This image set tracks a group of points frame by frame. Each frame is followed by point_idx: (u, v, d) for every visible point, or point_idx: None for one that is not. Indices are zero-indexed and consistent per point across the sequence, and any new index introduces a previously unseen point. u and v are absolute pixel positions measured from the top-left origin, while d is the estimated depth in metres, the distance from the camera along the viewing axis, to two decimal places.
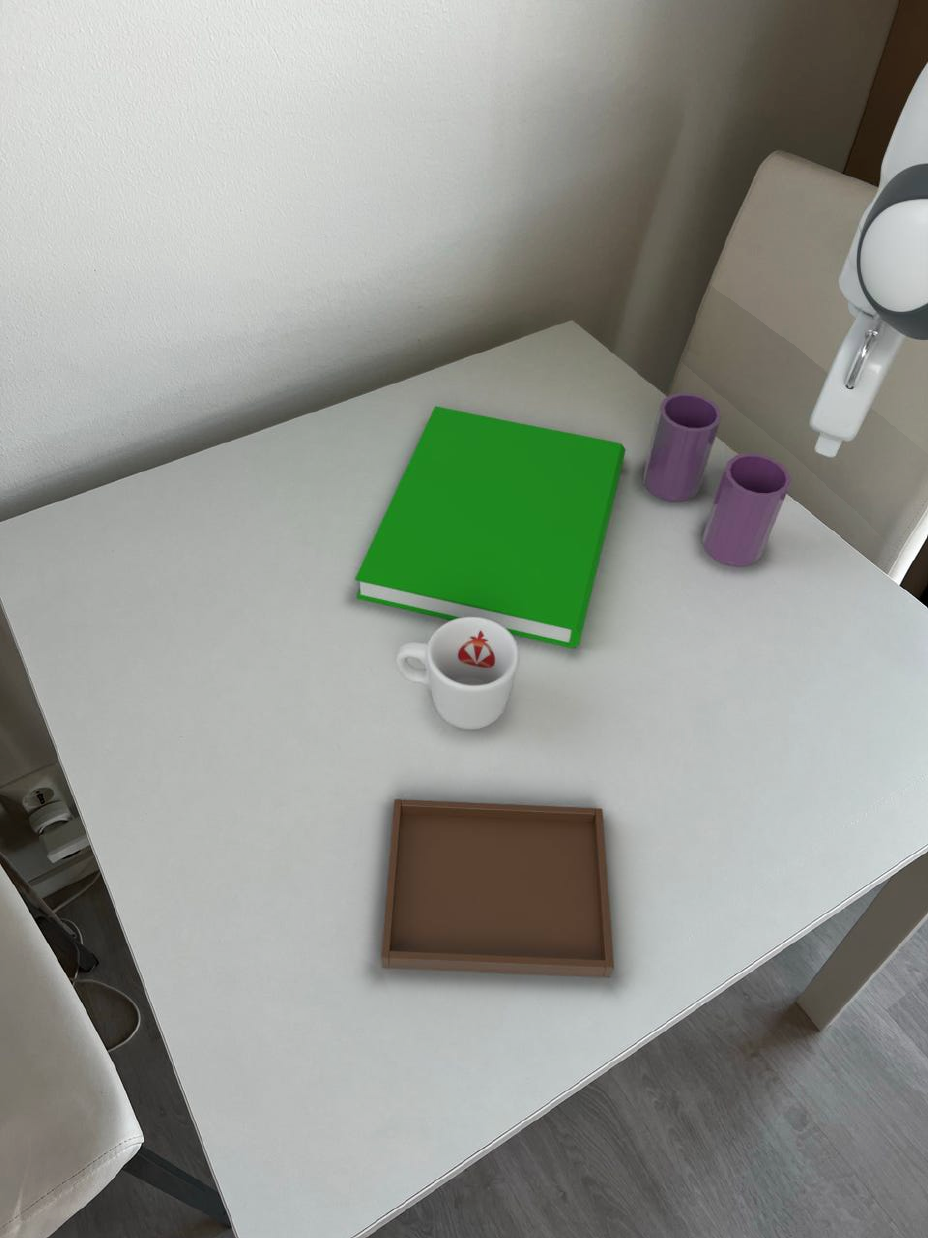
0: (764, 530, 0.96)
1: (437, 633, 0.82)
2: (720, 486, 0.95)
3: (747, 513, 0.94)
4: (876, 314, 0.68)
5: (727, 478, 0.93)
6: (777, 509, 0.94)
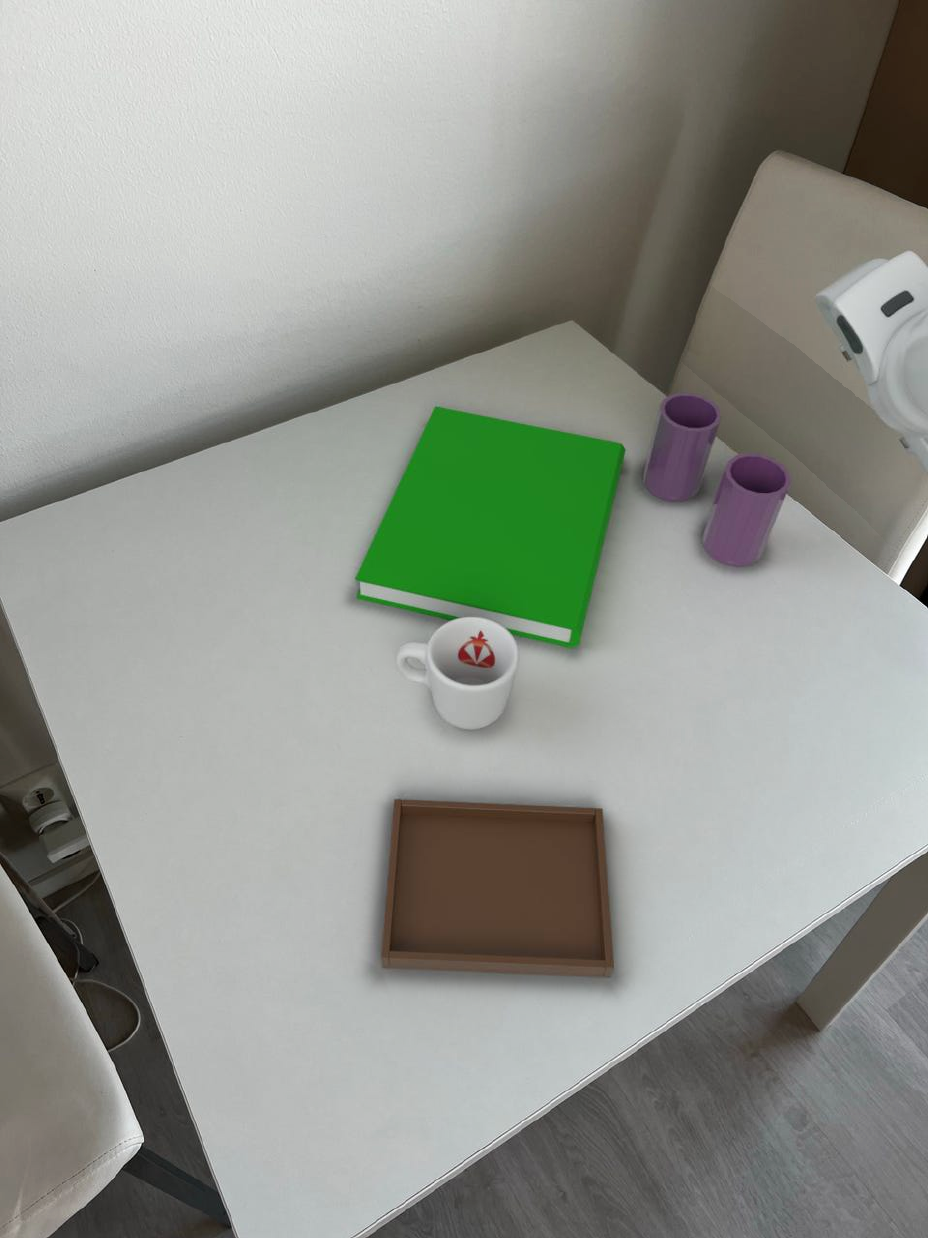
0: (764, 530, 0.96)
1: (437, 633, 0.82)
2: (720, 486, 0.95)
3: (747, 513, 0.94)
4: None
5: (727, 478, 0.93)
6: (777, 509, 0.94)
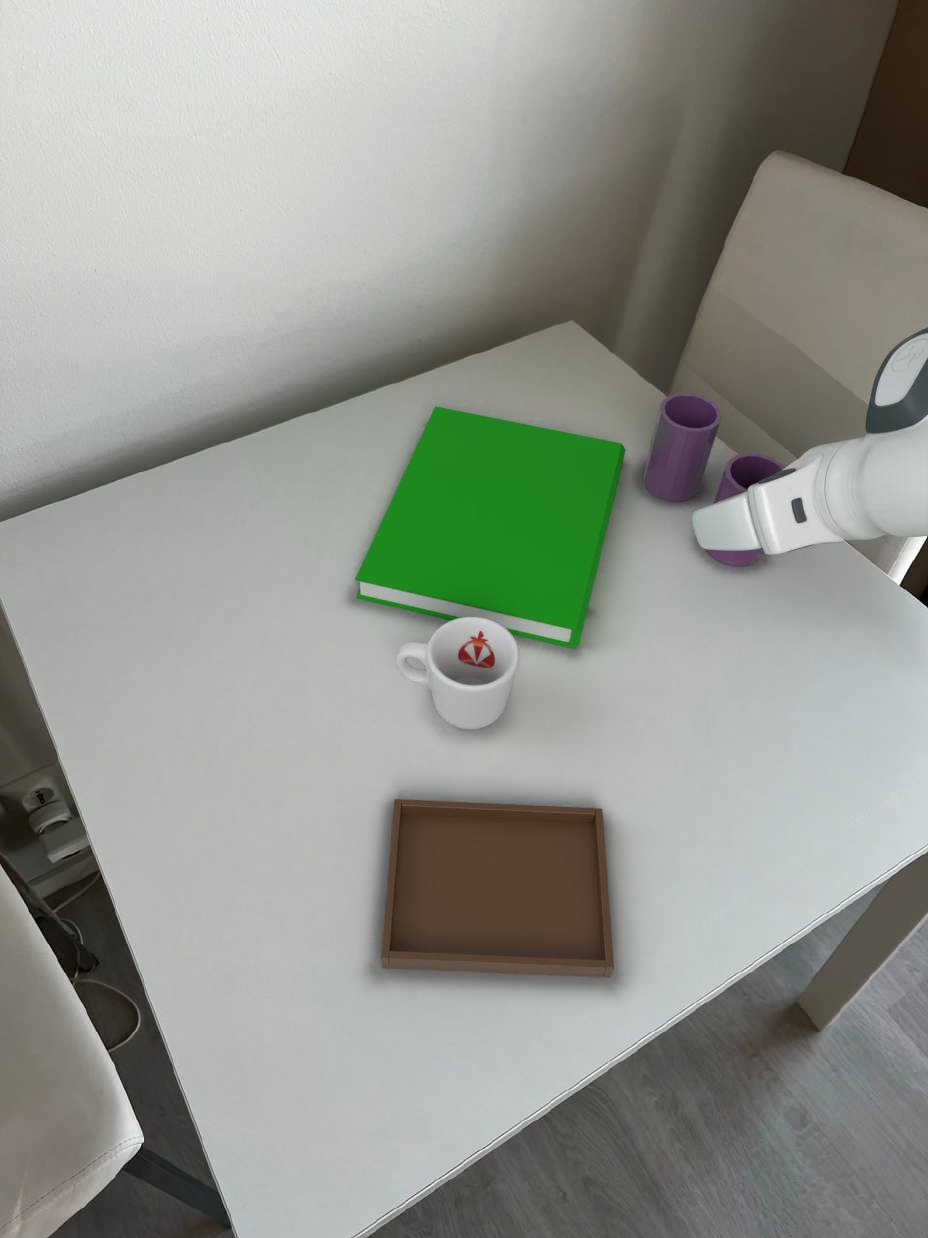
0: None
1: (437, 633, 0.82)
2: (720, 486, 0.95)
3: None
4: None
5: (727, 478, 0.93)
6: None
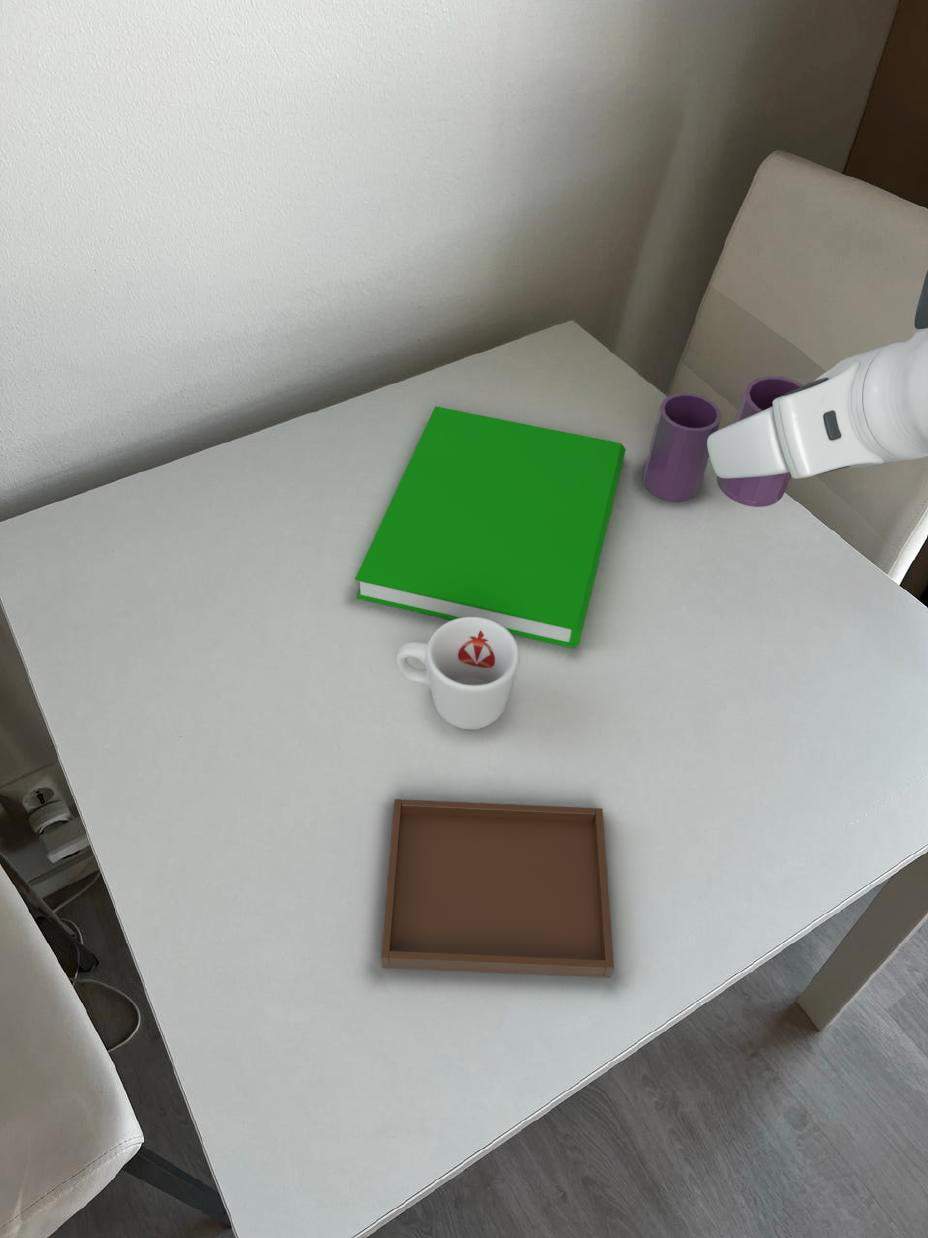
0: None
1: (437, 633, 0.82)
2: (738, 413, 0.84)
3: None
4: None
5: (746, 401, 0.82)
6: None
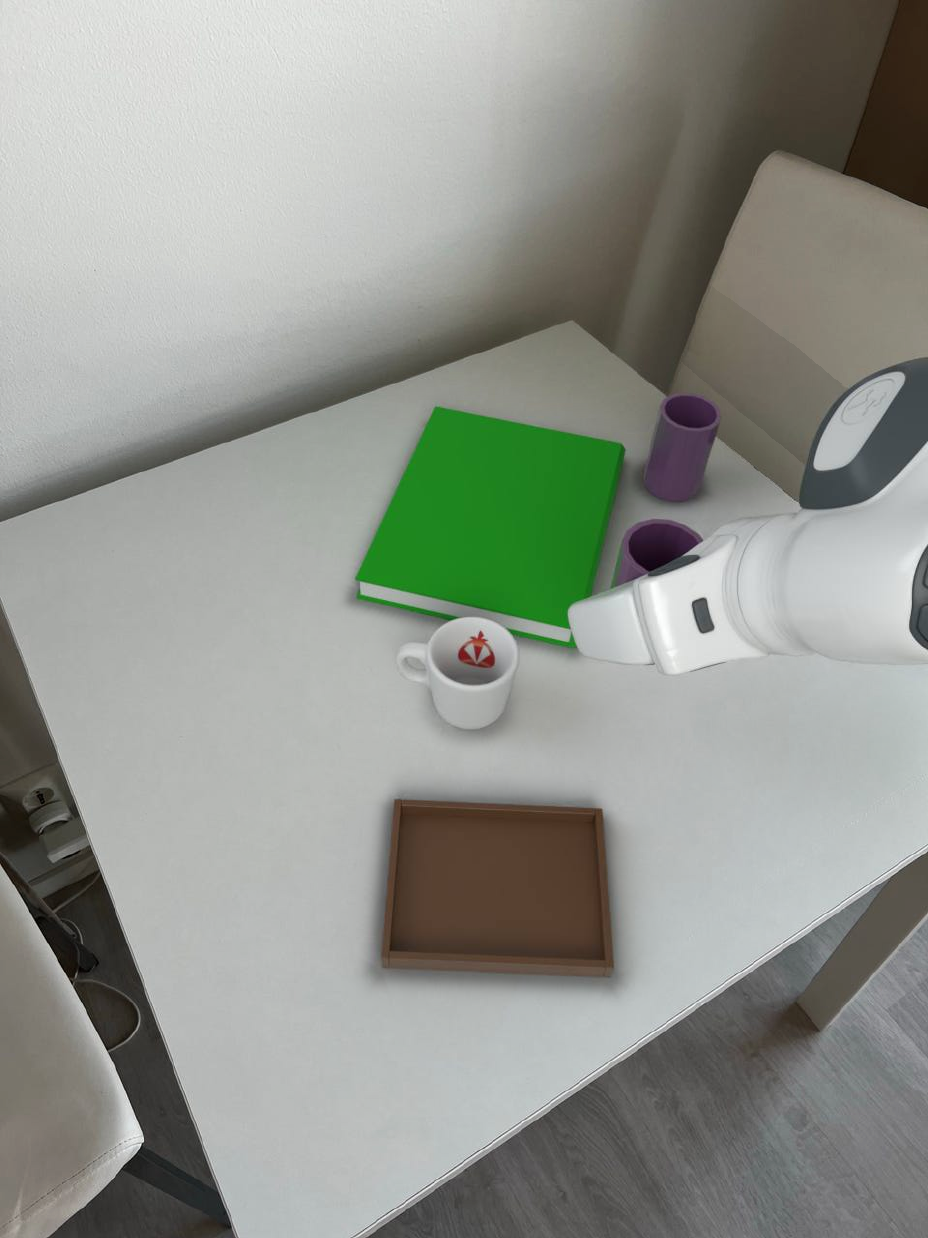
0: None
1: (437, 633, 0.82)
2: (617, 563, 0.72)
3: None
4: None
5: (623, 554, 0.70)
6: None
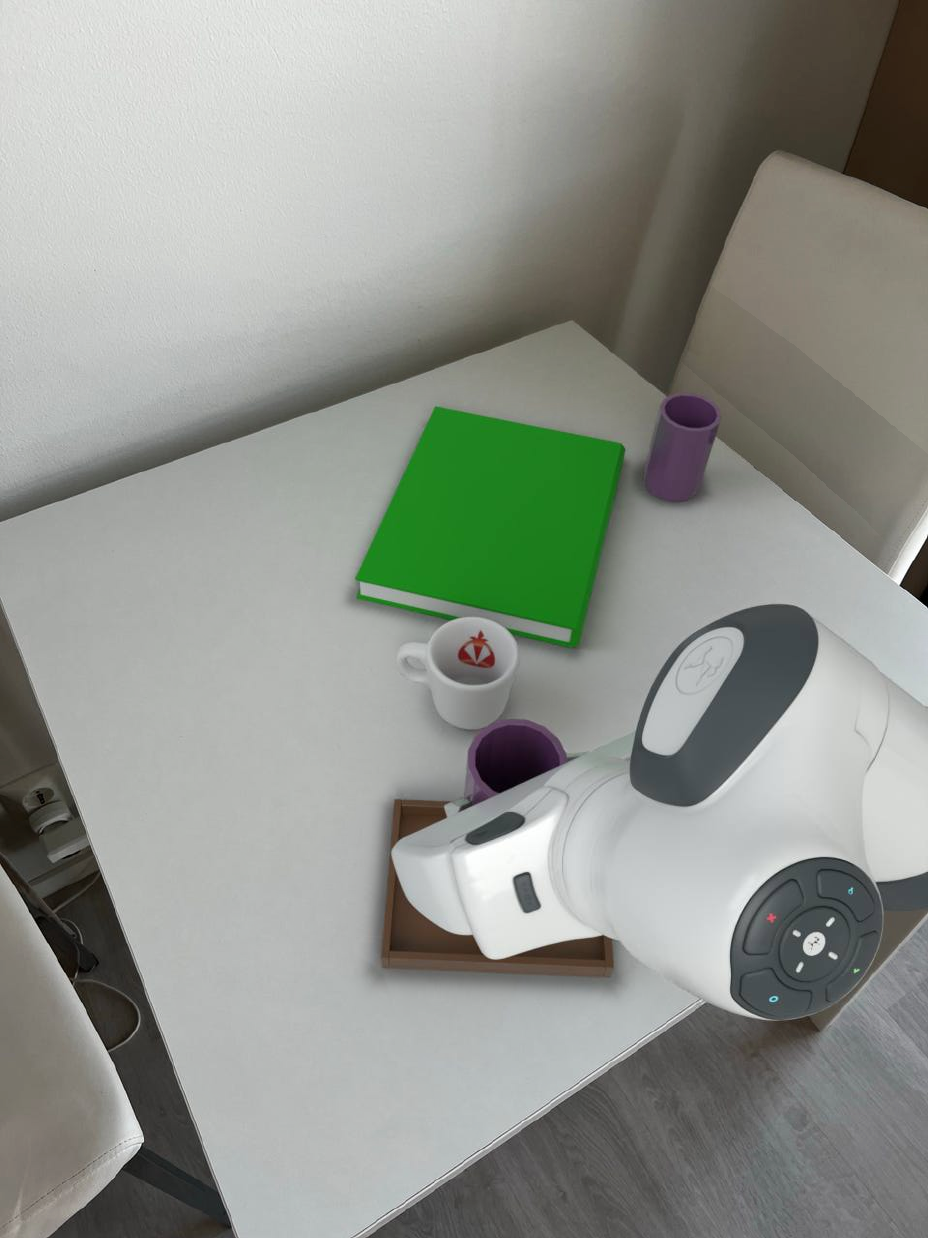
0: None
1: (437, 633, 0.82)
2: (466, 771, 0.62)
3: None
4: None
5: (468, 767, 0.60)
6: None
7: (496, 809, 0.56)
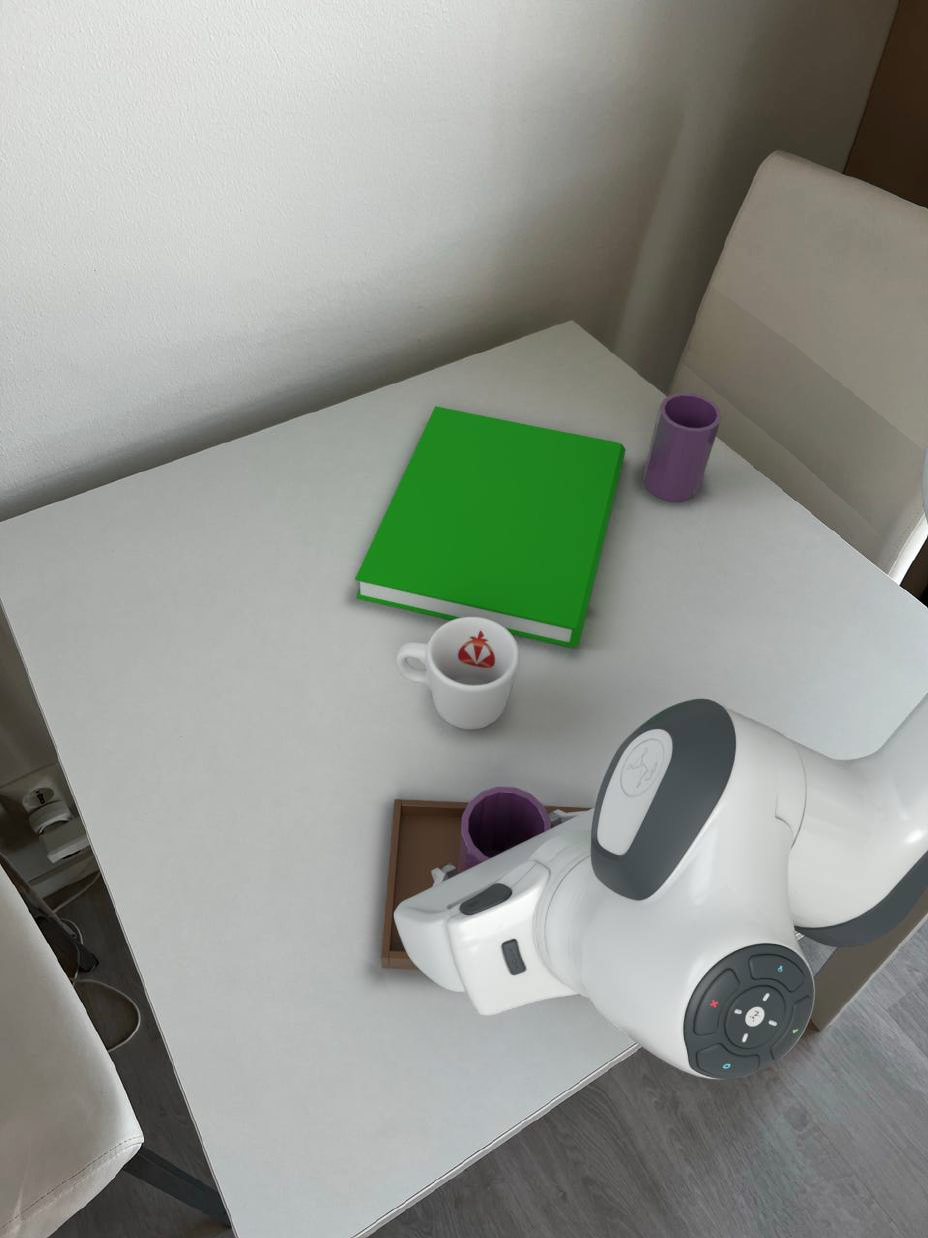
0: None
1: (437, 633, 0.82)
2: (460, 834, 0.69)
3: None
4: None
5: (462, 833, 0.67)
6: None
7: (488, 875, 0.63)
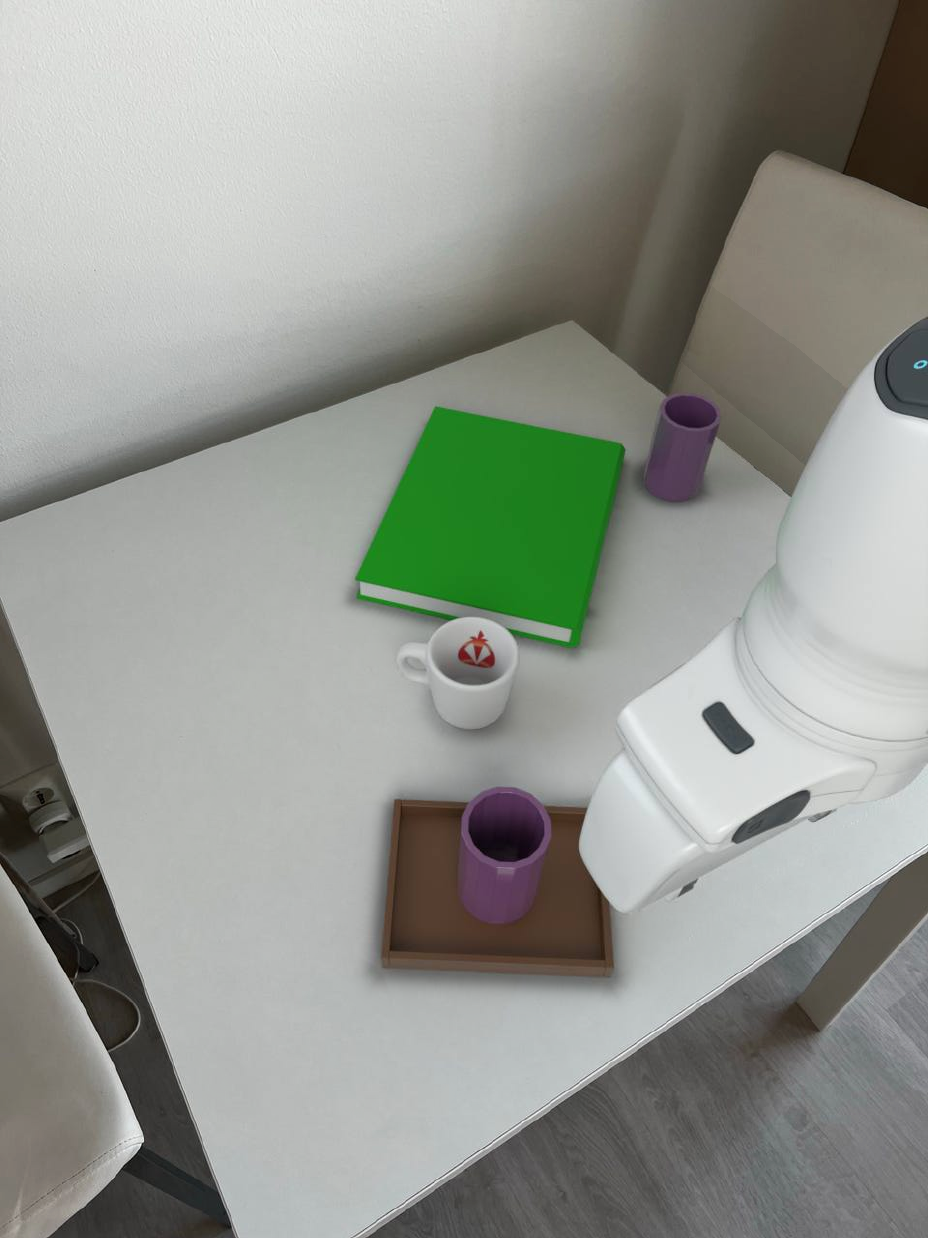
0: (522, 893, 0.69)
1: (437, 633, 0.82)
2: (460, 834, 0.69)
3: (490, 881, 0.67)
4: None
5: (462, 833, 0.67)
6: (534, 873, 0.68)
7: None
